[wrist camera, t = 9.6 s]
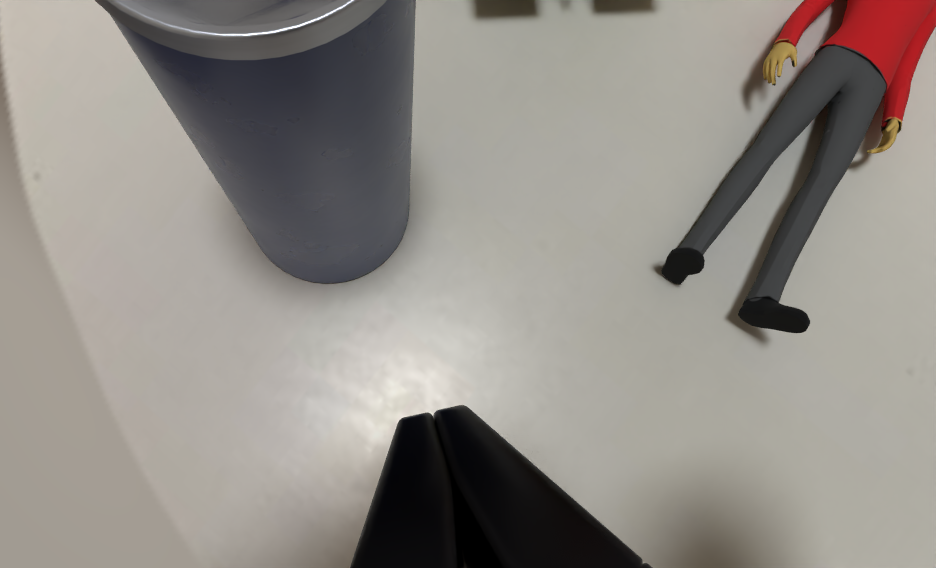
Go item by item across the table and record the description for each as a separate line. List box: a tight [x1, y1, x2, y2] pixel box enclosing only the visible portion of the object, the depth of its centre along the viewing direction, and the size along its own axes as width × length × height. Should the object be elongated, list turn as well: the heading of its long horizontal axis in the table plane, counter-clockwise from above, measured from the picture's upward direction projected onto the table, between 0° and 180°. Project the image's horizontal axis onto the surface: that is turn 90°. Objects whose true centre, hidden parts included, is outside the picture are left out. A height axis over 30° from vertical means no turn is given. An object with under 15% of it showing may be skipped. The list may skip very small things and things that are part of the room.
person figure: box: [661, 0, 936, 333], centre depth 25 cm, size 5×4×18 cm
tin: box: [95, 0, 416, 283], centre depth 17 cm, size 5×5×14 cm
